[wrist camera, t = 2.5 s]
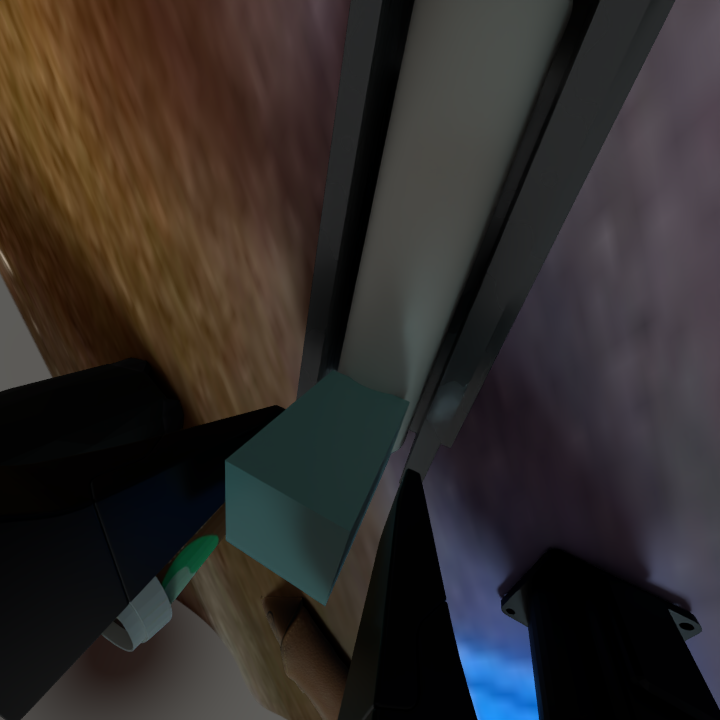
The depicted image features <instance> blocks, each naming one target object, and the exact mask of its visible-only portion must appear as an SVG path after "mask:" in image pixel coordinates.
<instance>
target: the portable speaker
mask: <svg viewBox="0 0 720 720" xmlns="http://www.w3.org/2000/svg"><path fill="white" fill-rule="evenodd" d="M150 370H151V368H150V366H149V364H148V363H147V361H143V360H139V359H135V358H128V359H125V360H122V361H119V362H116V363H112V364H106V365H102V366H98V367H94V368H90V369H86V370H82V371H78V372H74V373H70V374H66V375H62V376H58V377H54V378H50V379H46V380H42V381H39V382H35V383H31V384H27V385H23V386H19V387H15V388H11V389H8V390H4V391H1V392H0V466H12V465H24V464H32V463H37V462H43V461H48V460H53V459H58V458H63V457H67V456H72V455H77V454H82V453H87V452H92V451H97V450H102V449H107V448H111V447H116V446H120V445H125V444H129V443H133V442H137V441H141V440H145V439H149V438H153V437H157V436H160V435H161V436H163V435H165V434H168V433H172V432H176V431H179V430H181V429H182V425H183V413H182V409H181V406H180V402H179V400H172V399H167V398H166V397H165V395H164V394H163V393H162V392H161V390H160V389H159V388H158V387H157V386H156V384H155V383H154V382H153V381H152V379H151V378H150V377H149V376H148V373H149V372H150Z"/></svg>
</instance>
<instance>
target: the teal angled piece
mask: <svg viewBox="0 0 720 720" xmlns="http://www.w3.org/2000/svg"><path fill="white" fill-rule="evenodd" d="M572 9H573V0H415V1H414V6H413V11H412V15H411V20H410V25H409V30H408V35H407V39H406V44H405V49H404V54H403V59H402V63H401V68H400V73H399V78H398V83H397V87H396V92H395V97H394V102H393V107H392V112H391V116H390V121H389V126H388V131H387V136H386V140H385V145H384V150H383V155H382V160H381V164H380V169H379V174H378V179H377V184H376V188H375V193H374V198H373V203H372V208H371V213H370V217H369V222H368V227H367V232H366V237H365V241H364V246H363V251H362V256H361V261H360V265H359V270H358V275H357V280H356V285H355V289H354V294H353V299H352V304H351V309H350V313H349V318H348V323H347V328H346V333H345V338H344V342H343V347H342V352H341V357H340V362H339V366H338V371H337V372H336V371H334V370H332V371H331V372H330V373H329V374H328V375H326V376H325V377H324V378H323V379H322V380H320V381H319V382H318V383H317V384H316V385H314V386H313V387H312V388H311V389H310V390H308V391H307V392H306V393H305V394H304V395H303V396H301V397H300V398H299V399H298V400H297V401H295V402H294V403H293V404H292V405H291V406H289V407H288V408H287V409H286V410H285V411H283V412H282V413H281V414H280V415H279V416H277V417H276V418H275V419H274V420H273V421H271V422H270V423H269V424H268V425H267V426H265V427H264V428H263V429H262V430H261V431H260V432H258V433H257V434H256V435H255V436H254V437H252V438H251V439H250V440H249V441H248V442H246V443H245V444H244V445H243V446H242V447H240V448H239V449H238V450H237V451H236V452H234V453H233V454H232V455H231V456H230V457H228V458H227V459H226V460H225V499H226V541H228V542H229V543H231V544H232V545H234V546H235V547H237V548H238V549H240V550H241V551H243V552H244V553H246V554H247V555H249V556H250V557H252V558H253V559H255V560H256V561H258V562H259V563H261V564H262V565H264V566H265V567H267V568H268V569H270V570H271V571H273V572H274V573H276V574H278V575H279V576H281V577H282V578H284V579H285V580H287V581H288V582H290V583H291V584H293V585H294V586H296V587H297V588H299V589H300V590H302V591H303V592H305V593H306V594H308V595H309V596H311V597H312V598H314V599H315V600H317V601H318V602H320V603H321V604H323V605H324V606H325V605H326V603H327V601H328V598H329V596H330V594H331V592H332V589H333V587H334V585H335V582H336V580H337V578H338V575H339V573H340V571H341V569H342V566H343V564H344V562H345V559H346V557H347V555H348V552H349V550H350V548H351V546H352V543H353V541H354V539H355V536H356V534H357V532H358V529H359V527H360V525H361V523H362V520H363V518H364V516H365V513H366V511H367V509H368V506H369V504H370V502H371V500H372V497H373V495H374V493H375V490H376V488H377V486H378V484H379V481H380V479H381V477H382V474H383V472H384V470H385V467H386V465H387V463H388V460H389V457H390V455H391V453H393V452H395V451H397V450H398V449H399V448H401V446H402V445H403V443H404V441H405V439H406V436H407V434H408V431H409V429H410V426H411V423H412V421H413V418H414V416H415V413H416V411H417V408H418V406H419V403H420V400H421V398H422V395H423V393H424V390H425V388H426V385H427V383H428V380H429V377H430V375H431V372H432V370H433V367H434V365H435V362H436V359H437V357H438V354H439V352H440V349H441V347H442V344H443V342H444V339H445V336H446V334H447V331H448V329H449V326H450V324H451V321H452V319H453V316H454V313H455V311H456V308H457V306H458V303H459V301H460V298H461V295H462V293H463V290H464V288H465V285H466V283H467V280H468V278H469V275H470V272H471V270H472V267H473V265H474V262H475V260H476V257H477V255H478V252H479V249H480V247H481V244H482V242H483V239H484V237H485V234H486V231H487V229H488V226H489V224H490V221H491V219H492V216H493V214H494V211H495V208H496V206H497V203H498V201H499V198H500V196H501V193H502V191H503V188H504V185H505V183H506V180H507V178H508V175H509V173H510V170H511V167H512V165H513V162H514V160H515V157H516V155H517V152H518V150H519V147H520V144H521V142H522V139H523V137H524V134H525V132H526V129H527V127H528V124H529V121H530V119H531V116H532V114H533V111H534V109H535V106H536V103H537V101H538V98H539V96H540V93H541V91H542V88H543V86H544V83H545V80H546V78H547V75H548V73H549V70H550V68H551V65H552V62H553V60H554V57H555V55H556V52H557V50H558V47H559V45H560V42H561V39H562V37H563V34H564V32H565V29H566V27H567V24H568V22H569V19H570V16H571V13H572Z"/></svg>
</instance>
